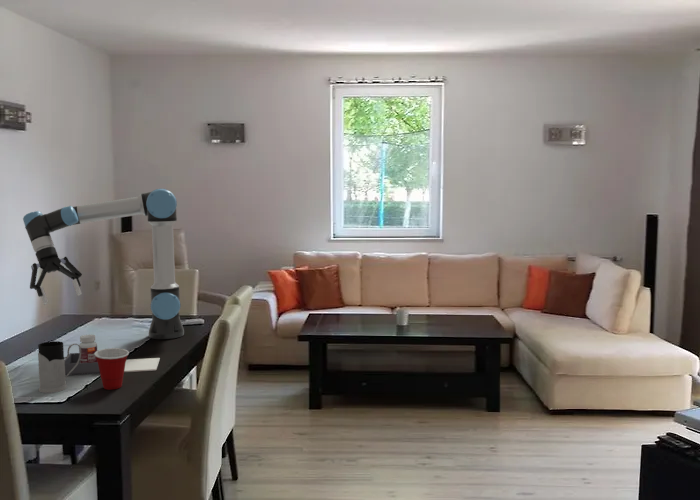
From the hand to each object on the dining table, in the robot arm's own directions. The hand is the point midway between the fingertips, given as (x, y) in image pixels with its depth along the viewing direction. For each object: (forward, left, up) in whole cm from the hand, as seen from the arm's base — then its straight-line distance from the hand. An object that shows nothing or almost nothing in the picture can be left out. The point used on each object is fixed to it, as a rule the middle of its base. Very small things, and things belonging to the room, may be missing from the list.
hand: (63, 299), depth 268 cm
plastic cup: (-25, +50, -22) cm, 60 cm away
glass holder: (-8, +46, -22) cm, 51 cm away
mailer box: (-21, +24, -22) cm, 38 cm away
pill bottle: (-13, +23, -22) cm, 34 cm away
